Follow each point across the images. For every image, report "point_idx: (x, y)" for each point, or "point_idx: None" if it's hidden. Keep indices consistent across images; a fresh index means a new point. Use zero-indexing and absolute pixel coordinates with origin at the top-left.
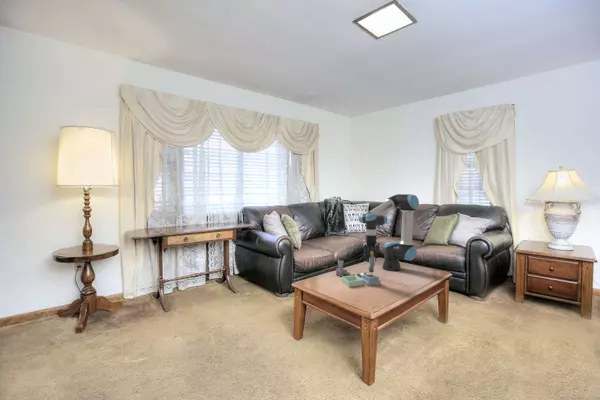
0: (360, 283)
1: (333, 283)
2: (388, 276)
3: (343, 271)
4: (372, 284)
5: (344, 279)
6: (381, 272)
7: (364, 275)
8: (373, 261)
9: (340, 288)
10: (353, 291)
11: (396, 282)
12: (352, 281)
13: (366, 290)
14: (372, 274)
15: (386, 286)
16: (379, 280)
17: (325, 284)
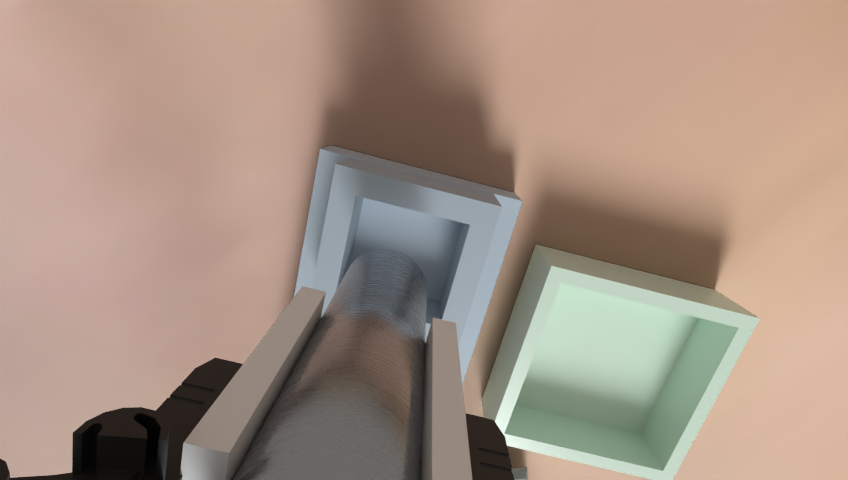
0: (574, 259)
1: (738, 449)
2: (50, 281)
3: None
4: (446, 175)
5: (704, 410)
6: (36, 413)
7: (463, 329)
8: (322, 362)
9: (820, 307)
10: (802, 153)
11: (104, 68)
12: (703, 303)
13: (655, 84)
14: (330, 298)
15: (331, 36)
16: (324, 165)
17: (824, 470)
